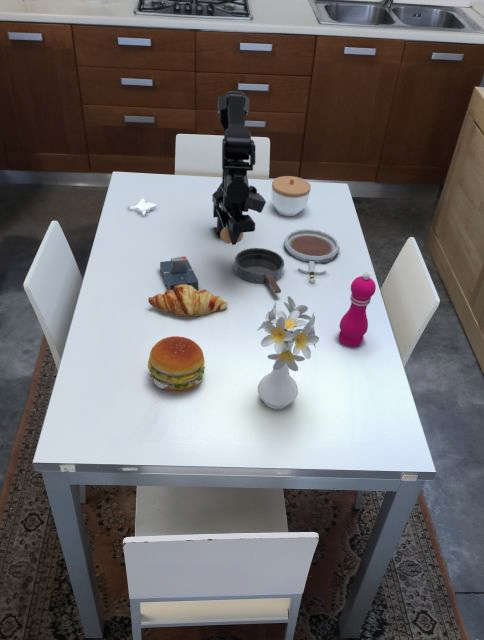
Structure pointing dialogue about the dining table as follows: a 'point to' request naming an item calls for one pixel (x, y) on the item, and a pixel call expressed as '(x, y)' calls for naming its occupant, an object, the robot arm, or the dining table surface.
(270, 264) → the egg pan
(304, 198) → the lidded bowl
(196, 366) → the burger
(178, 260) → the hob knob
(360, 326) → the pepper mill
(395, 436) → the dining table surface
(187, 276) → the hob control
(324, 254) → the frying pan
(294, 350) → the flower vase
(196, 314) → the croissant
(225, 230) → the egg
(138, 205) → the acanthus leaf ornament
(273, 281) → the egg pan handle
